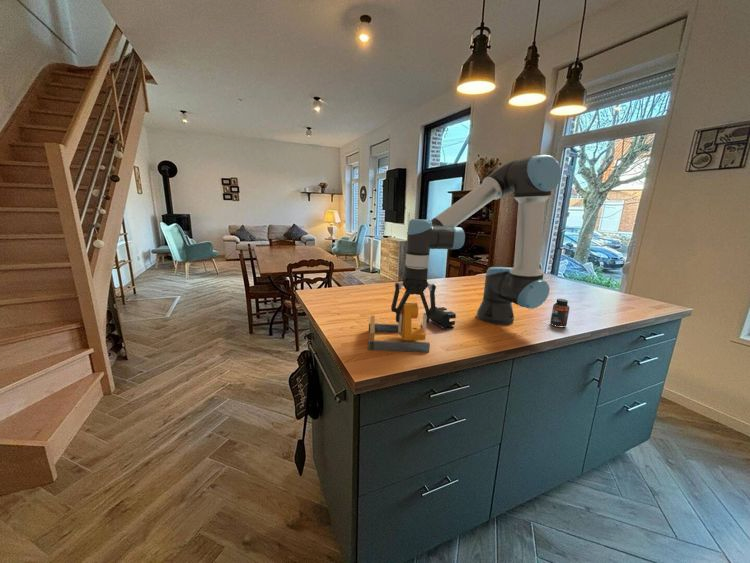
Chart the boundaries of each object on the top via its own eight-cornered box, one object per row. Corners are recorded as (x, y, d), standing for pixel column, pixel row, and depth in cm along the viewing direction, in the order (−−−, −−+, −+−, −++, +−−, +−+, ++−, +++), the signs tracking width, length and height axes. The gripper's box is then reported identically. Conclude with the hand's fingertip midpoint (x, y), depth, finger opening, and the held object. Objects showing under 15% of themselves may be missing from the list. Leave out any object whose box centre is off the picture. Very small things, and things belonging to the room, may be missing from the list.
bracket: (425, 342, 101) (428, 308, 98) (404, 342, 100) (407, 308, 97) (417, 329, 111) (419, 298, 108) (397, 330, 110) (399, 298, 107)
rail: (421, 332, 114) (422, 317, 112) (429, 352, 98) (430, 335, 97) (368, 330, 113) (369, 315, 112) (367, 349, 98) (368, 332, 96)
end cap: (426, 321, 126) (427, 306, 124) (440, 320, 128) (442, 305, 127) (440, 330, 117) (441, 314, 115) (455, 328, 119) (456, 312, 118)
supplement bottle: (566, 325, 129) (571, 299, 126) (565, 329, 124) (571, 303, 121) (550, 321, 132) (555, 297, 129) (549, 325, 127) (553, 300, 124)
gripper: (445, 266, 103) (438, 328, 109) (385, 263, 103) (381, 326, 108) (450, 270, 96) (443, 337, 101) (386, 267, 96) (382, 334, 101)
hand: (411, 331), depth 105 cm, fingers closed on bracket, 8 cm apart
